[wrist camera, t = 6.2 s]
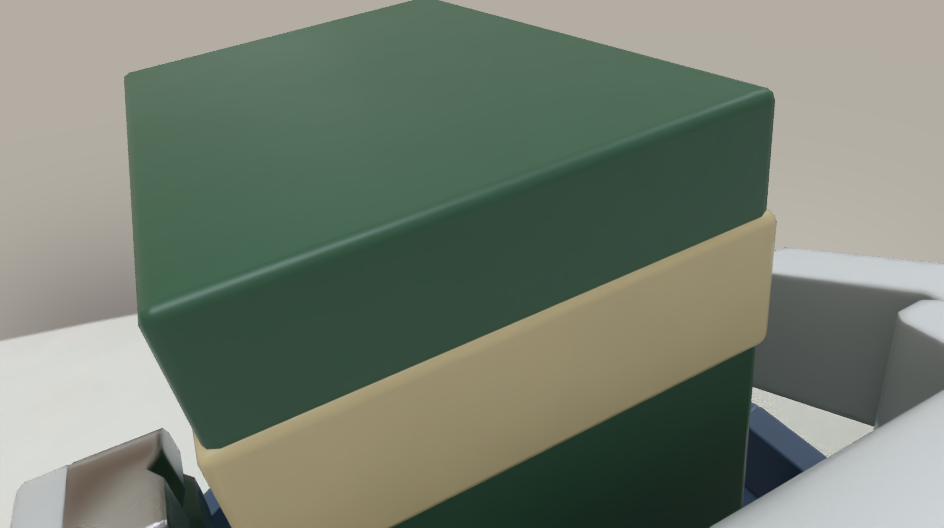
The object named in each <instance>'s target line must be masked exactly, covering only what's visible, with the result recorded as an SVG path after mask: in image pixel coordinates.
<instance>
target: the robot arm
mask: <svg viewBox="0 0 944 528" xmlns="http://www.w3.org/2000/svg"><path fill="white" fill-rule="evenodd" d="M752 387H755V388H758V389H761V390H764V391H767V392H770V393H773V394H776V395H779V396H782V397H785V398H788V399H791V400H795V401H798V402H801V403H804V404H807V405H810V406H813V407H816V408H819V409H822V410H825V411H828V412H831V413H834V414H837V415H840V416H843V417H846V418H849V419H853V420H856V421H859V422H862V423H865V424H868V425H871V426H874V430H873V431H872V432H870V433H869V434H867V435H865V436H864V437H862V438H860V439H859V440H857V441H855V442H853V443H852V444H850V445H848V446H847V447H845V448H843V449H842V450H840V451H838V452H836V453H835V454H833V455H831V456H830V457H828V458H826V459H825V460H823V461H821V462H819V463H818V464H816V465H814V466H813V467H811V468H809V469H808V470H806V471H804V472H802V473H801V474H799V475H797V476H796V477H794V478H792V479H791V480H789V481H787V482H785V483H784V484H782V485H780V486H779V487H777V488H775V489H774V490H772V491H770V492H769V493H767V494H765V495H763V496H762V497H760V498H758V499H757V500H755V501H753V502H752V503H750V504H748V505H746V506H745V507H743V508H741V509H740V510H738V511H736V512H735V513H733V514H731V515H729V516H728V517H726V518H724V519H723V520H721V521H719V522H718V523H716V524H714V525H712V526H711V527H709V528H944V264H942V263H932V262H923V261H914V260H904V259H894V258H885V257H874V256H865V255H856V254H846V253H836V252H827V251H826V252H825V251H816V250H807V249H797V248H787V247H785V248H782V249H780V250H778V251H776V250H774V257H773V268H772V279H771V290H770V302H769V313H768V324H767V334H766V336H765V338H764V340H763V341H762V342H761V343H760V344H758V345H756V346H755V359H754V372H753V384H752ZM10 528H215V525H214V522H213V519H212V516H211V512H210V509H209V507H208V504H207V502H206V500H205V497H204V495H203V493H202V491H201V489H200V487H199V485H198V483H197V481H196V480H195V478H194V477H191V476H188V475H185V474H183V470H182V462H181V455H180V451H179V449H178V447H177V446H176V444H175V442H174V441H173V439H172V437H171V436H170V434H169V432H167V431H166V430H164V429H163V428H161V429H159V430H156V431H153V432H151V433H148V434H146V435H143V436H141V437H138V438H135V439H133V440H130V441H128V442H125V443H122V444H120V445H117V446H115V447H112V448H110V449H107V450H104V451H102V452H99V453H97V454H94V455H92V456H89V457H86V458H84V459H81V460H79V461H76V462H74V463H72V465H66V466H64V467H61V468H59V469H56V470H54V471H51V472H49V473H46V474H44V475H42V476H39V477H37V478H34V479H32V480H29V481H27V482H24V484H23V485H22V486H21V487H20V488H19V489H18V490H17V493H16V496H15V502H14V507H13V513H12V519H11V524H10Z"/></svg>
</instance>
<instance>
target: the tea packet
mask: <svg viewBox="0 0 944 528" xmlns="http://www.w3.org/2000/svg"><path fill="white" fill-rule="evenodd" d="M124 85H125V103H126V119H127V120H126V121H127V137H128V152H129V153H128V155H129V172H130V189H131V206H132V223H133V241H134V257H135V275H136V292H137V309H138V326H139V328H140V330H141V332H142V334H143V336H144V338H145V339H146V341H147V343H148V345H149V347H150V349H151V351H152V353H153V355H154V357H155V358H156V360H157V362H158V364H159V366H160V368H161V370H162V372H163V374H164V376H165V378H166V379H167V381H168V383H169V385H170V387H171V389H172V391H173V393H174V395H175V397H176V398H177V400H178V402H179V404H180V406H181V408H182V410H183V412H184V414H185V416H186V417H187V419H188V421H189V423H190V425H191V427H192V430H193V437H194V444H195V450H196V457H197V464H198V466H199V468H200V470H201V472H202V474H203V476H204V478H205V479H206V481H207V483H208V485H209V487H210V489H211V490H212V492H213V494H214V496H215V498H216V500H217V502H218V503H219V505H220V507H221V509H222V511H223V513H224V514H225V516H226V518H227V520H228V522H229V524H230V526H231V527H232V528H709V527H711V526H712V525H714V524H716V523H718V522H719V521H721V520H723V519H724V518H726V517H728V516H729V515H731V514H733V513H735V512H736V511H738V510H740V509H741V508H743V498H744V486H745V473H746V460H747V448H748V435H749V422H750V410H751V397H752V384H753V372H754V359H755V346H756V345H758V344H760V343H761V342H762V341H763V340H764V338H765V336H766V334H767V324H768V313H769V302H770V290H771V279H772V268H773V257H774V244H775V234H776V223H777V221H776V218H775V215H774V214H773V213H772V212H771V211H770V210H768V209H766V207H767V195H768V182H769V169H770V157H771V144H772V131H773V119H774V104H775V99H774V95H773V92H772V91H770V90H769V89H768V88H765V87H761V86H757V85H754V84H750V83H746V82H742V81H739V80H735V79H731V78H727V77H724V76H720V75H716V74H712V73H709V72H705V71H701V70H697V69H693V68H690V67H686V66H683V65H679V64H675V63H671V62H668V61H664V60H660V59H656V58H653V57H649V56H645V55H641V54H637V53H634V52H630V51H626V50H623V49H618V48H615V47H611V46H608V45H604V44H600V43H596V42H593V41H588V40H585V39H581V38H577V37H573V36H570V35H566V34H563V33H559V32H555V31H551V30H547V29H544V28H540V27H537V26H533V25H529V24H525V23H522V22H517V21H514V20H510V19H507V18H503V17H499V16H495V15H492V14H488V13H484V12H480V11H476V10H473V9H469V8H465V7H461V6H458V5H454V4H450V3H447V2H443V1H439V0H412V1H409V2H405V3H401V4H397V5H393V6H389V7H385V8H381V9H378V10H374V11H369V12H366V13H362V14H358V15H354V16H350V17H346V18H342V19H338V20H334V21H331V22H326V23H323V24H319V25H315V26H311V27H307V28H303V29H299V30H295V31H291V32H287V33H284V34H279V35H276V36H272V37H268V38H264V39H260V40H256V41H252V42H248V43H245V44H240V45H236V46H233V47H229V48H225V49H221V50H217V51H213V52H209V53H205V54H201V55H197V56H193V57H190V58H186V59H182V60H178V61H174V62H170V63H166V64H162V65H158V66H154V67H150V68H146V69H143V70H139V71H135V72H131V73H128V74H127V75H126V76H125V77H124Z"/></svg>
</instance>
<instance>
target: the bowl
mask: <svg viewBox="0 0 944 528" xmlns="http://www.w3.org/2000/svg"><path fill="white" fill-rule="evenodd" d="M826 458H827V457H826V456H825V455H823V454H822V453H821V452H819V451H818V450H817V449H815V448H814V447H813V446H811V445H810V444H809V443H807V442H806V441H805V440H804V439H802V438H801V437H800V436H798V435H797V434H796V433H794V432H793V431H792V430H790V429H789V428H788V427H787V426H785V425H784V424H783V423H781V422H780V421H779V420H777V419H776V418H775V417H773V416H772V415H771V414H769V413H768V412H767V411H766V410H764V409H763V408H762V407H758V405H756V404H754V403H752V402H751V410H750V422H749V435H748V448H747V460H746V473H745V486H744V498H743V507H745V506H746V505H748V504H750V503H752V502H753V501H755V500H757V499H758V498H760V497H762V496H763V495H765V494H767V493H769V492H770V491H772V490H774V489H775V488H777V487H779V486H780V485H782V484H784V483H785V482H787V481H789V480H791V479H792V478H794V477H796V476H797V475H799V474H801V473H802V472H804V471H806V470H808V469H809V468H811V467H813V466H814V465H816V464H818V463H819V462H821V461H823V460H825V459H826ZM204 497H205V500H206V502H207V504H208V507H209V509H210V512H211V516H212V519H213V522H214V525H215V528H232V527H231V526H230V524H229V522H228V520H227V518H226V516H225V514H224V513H223V511H222V509H221V507H220V505H219V503H218V502H217V500H216V498H215V496H214V494H213V492H212V490H211V489H209V490H208V491H207V492H206V493H205V494H204Z"/></svg>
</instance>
